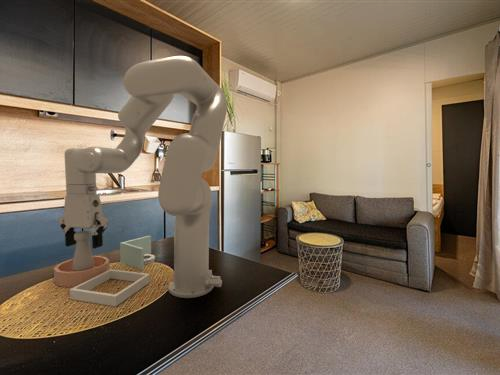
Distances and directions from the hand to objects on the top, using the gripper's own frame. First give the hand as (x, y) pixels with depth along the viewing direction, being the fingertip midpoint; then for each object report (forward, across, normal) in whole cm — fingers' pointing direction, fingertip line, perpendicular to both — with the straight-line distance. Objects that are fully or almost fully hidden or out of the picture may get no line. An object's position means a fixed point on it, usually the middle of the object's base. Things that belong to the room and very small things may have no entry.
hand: (84, 246), depth 76 cm
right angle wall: (+10, -9, -17) cm, 22 cm away
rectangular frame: (+10, -14, +5) cm, 18 cm away
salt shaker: (+9, +1, 0) cm, 9 cm away
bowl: (+10, +1, 0) cm, 10 cm away
